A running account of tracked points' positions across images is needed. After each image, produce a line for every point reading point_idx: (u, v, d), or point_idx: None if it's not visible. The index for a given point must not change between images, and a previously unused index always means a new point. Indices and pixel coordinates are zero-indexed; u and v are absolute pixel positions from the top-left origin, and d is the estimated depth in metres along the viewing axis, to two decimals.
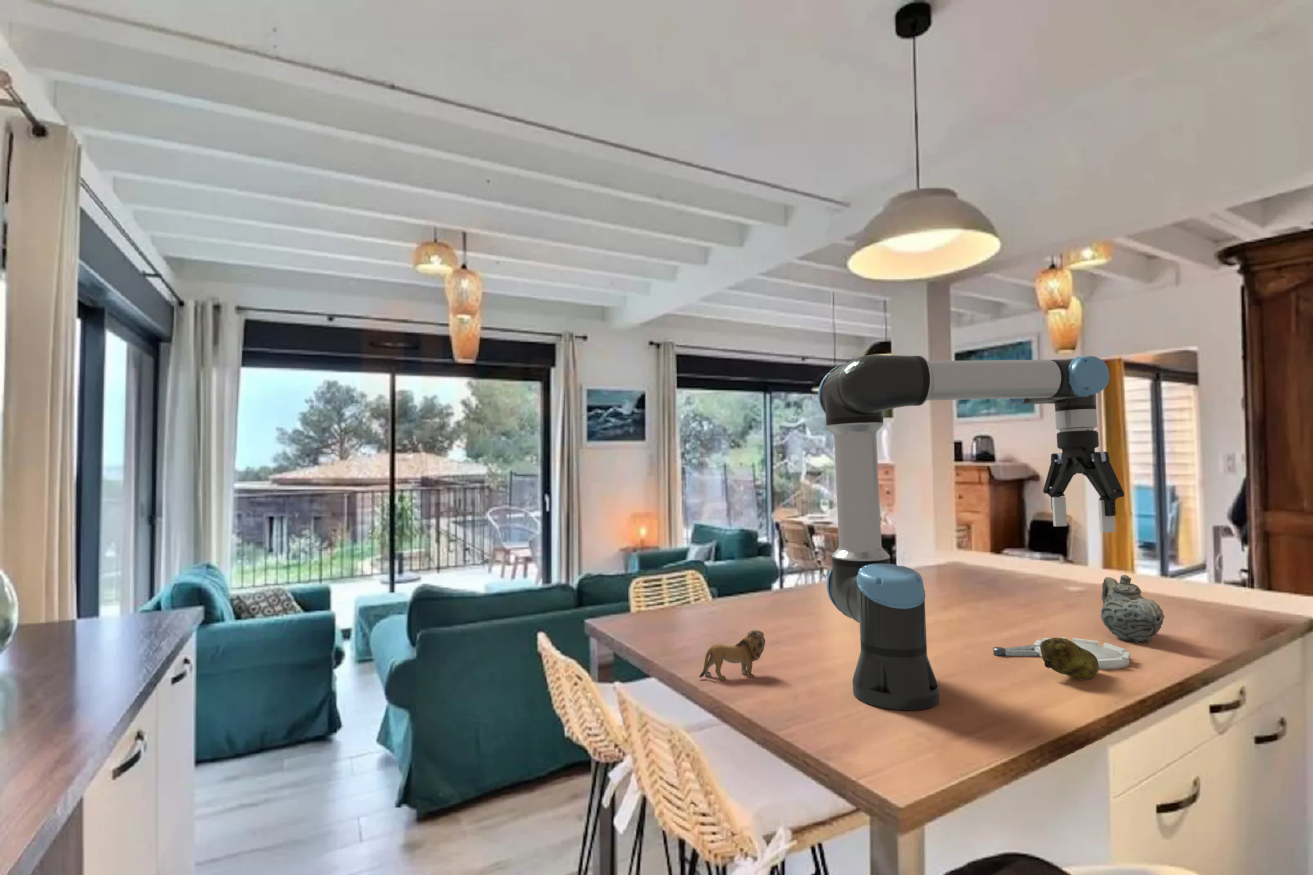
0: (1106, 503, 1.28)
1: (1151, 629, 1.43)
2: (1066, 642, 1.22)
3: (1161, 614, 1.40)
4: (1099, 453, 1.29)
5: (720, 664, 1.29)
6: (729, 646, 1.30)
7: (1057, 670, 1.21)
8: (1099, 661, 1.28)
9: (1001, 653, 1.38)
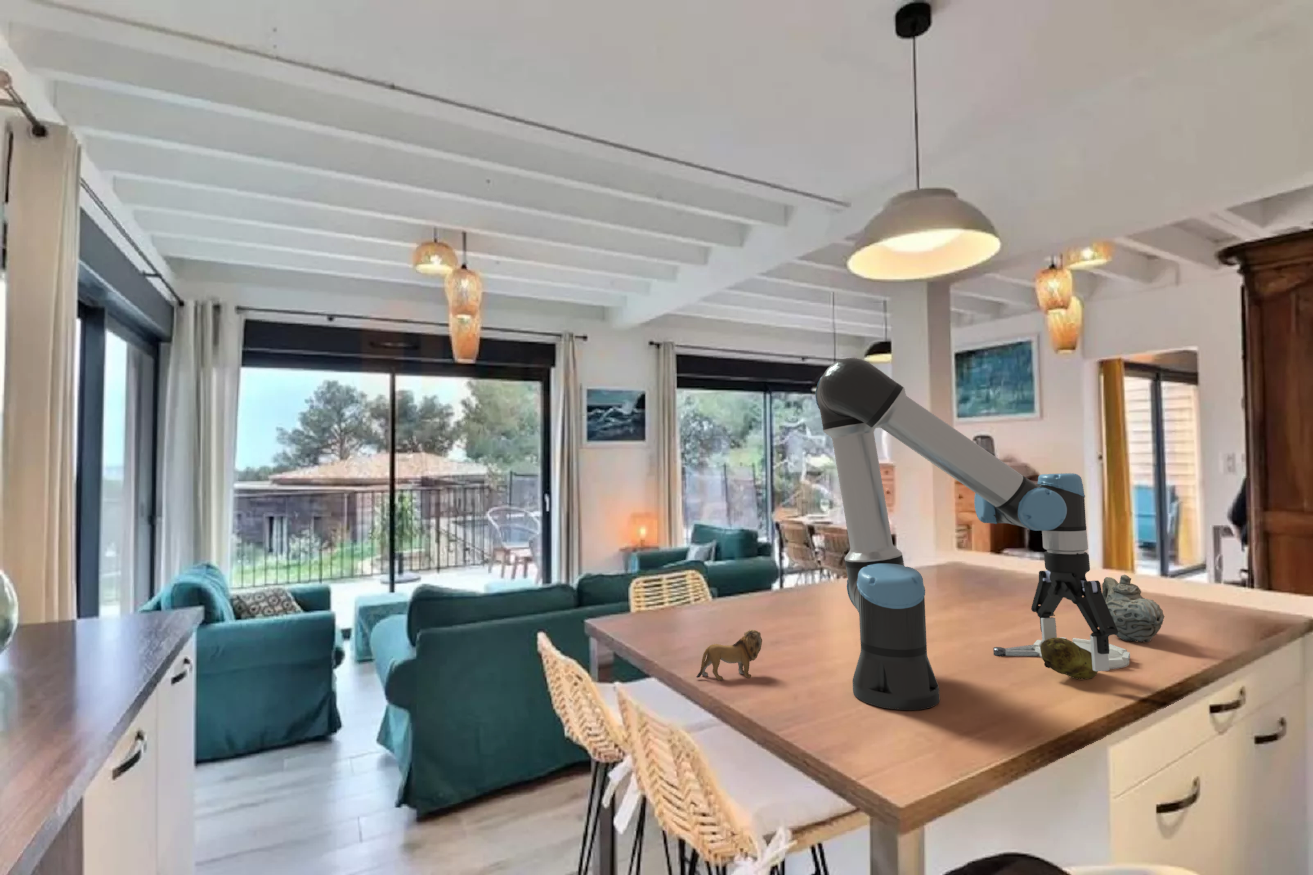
0: (1098, 640, 1.17)
1: (1151, 629, 1.43)
2: (1066, 642, 1.22)
3: (1161, 614, 1.40)
4: (1090, 583, 1.18)
5: (717, 664, 1.29)
6: (726, 646, 1.30)
7: (1057, 670, 1.22)
8: None
9: (1001, 653, 1.38)
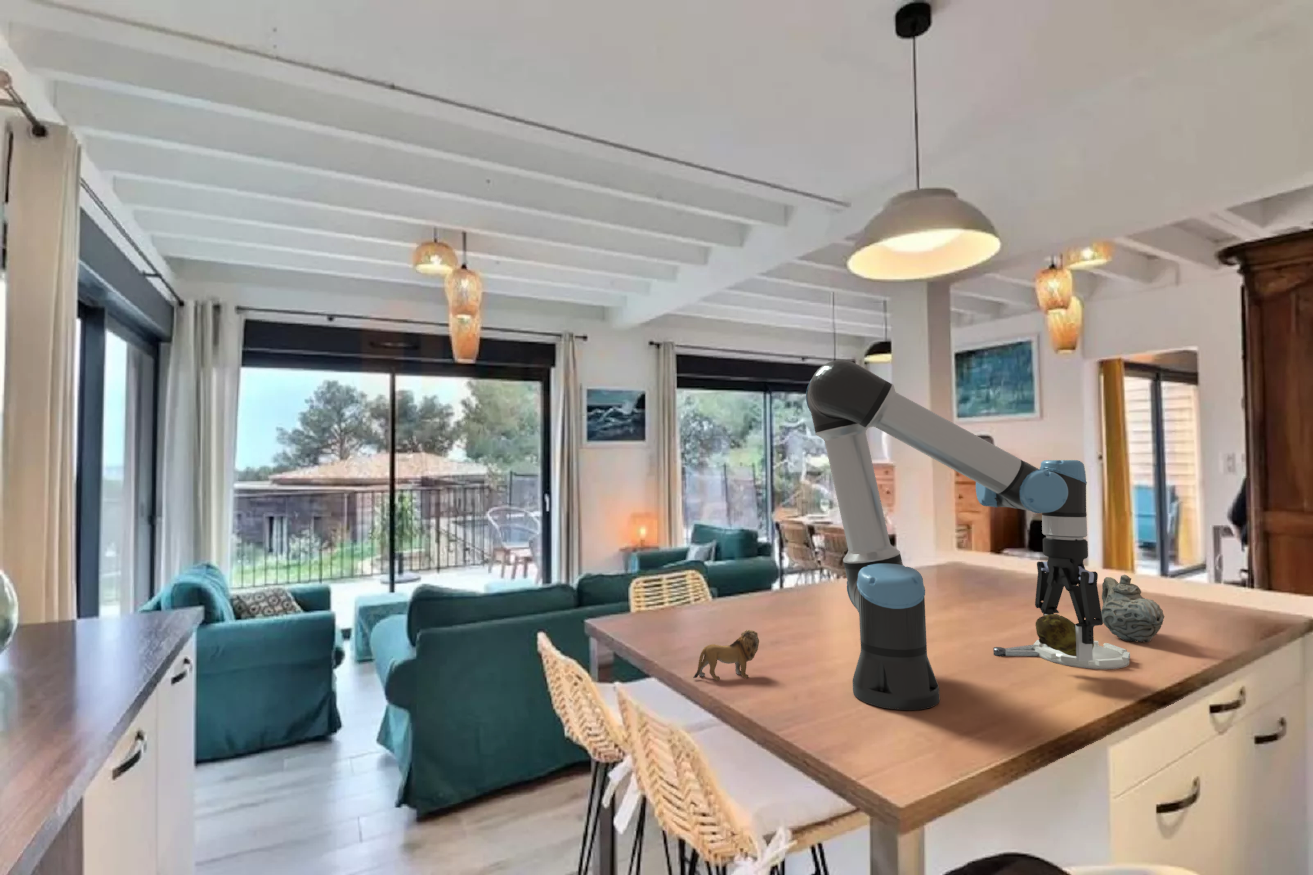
0: (1083, 630, 1.19)
1: (1151, 629, 1.43)
2: (1061, 618, 1.22)
3: (1161, 614, 1.40)
4: (1088, 574, 1.18)
5: (714, 664, 1.29)
6: (723, 646, 1.30)
7: (1051, 646, 1.22)
8: (1099, 661, 1.28)
9: (1001, 653, 1.38)
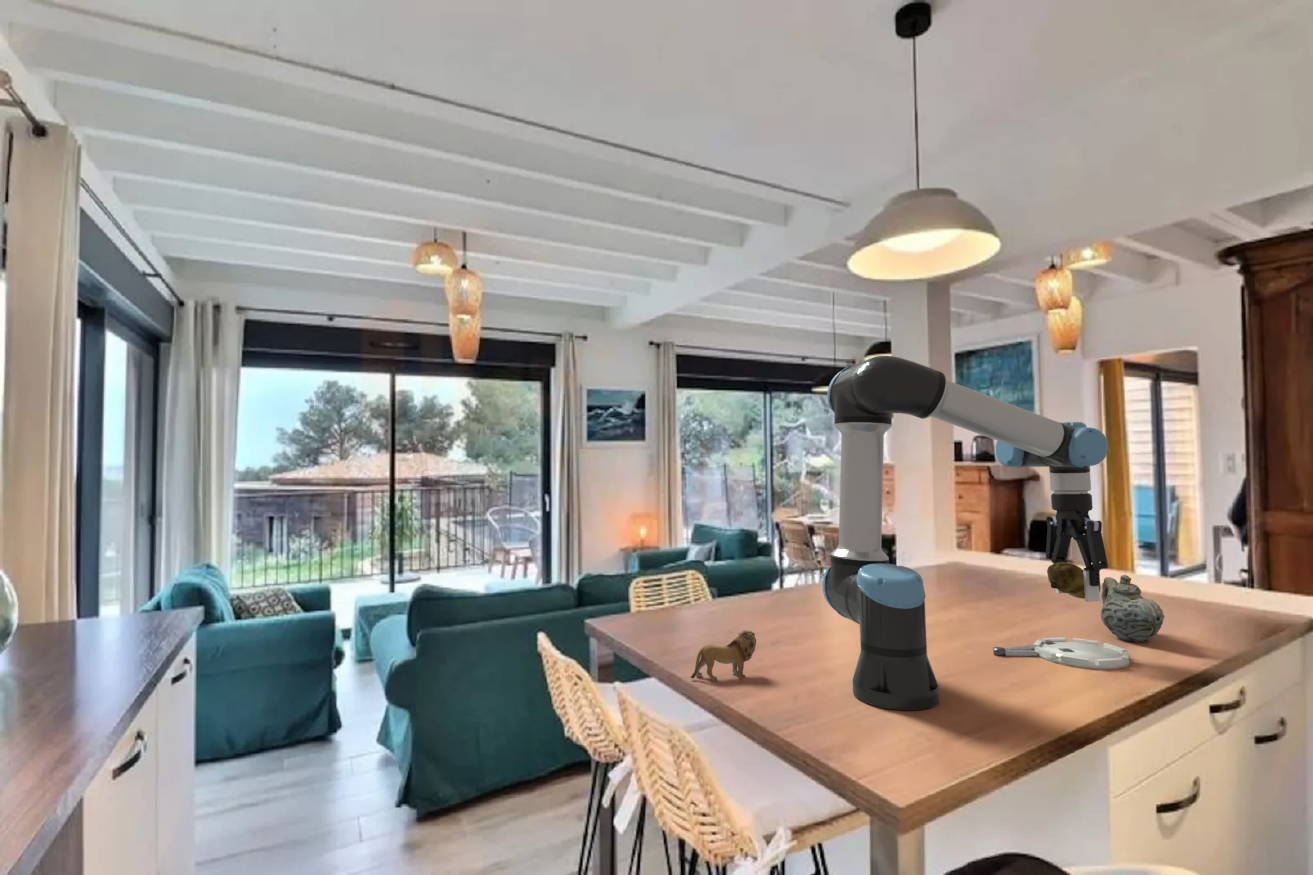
0: (1090, 574, 1.32)
1: (1151, 629, 1.43)
2: (1070, 564, 1.35)
3: (1161, 614, 1.40)
4: (1093, 523, 1.31)
5: (712, 665, 1.29)
6: (720, 647, 1.30)
7: (1062, 589, 1.35)
8: (1099, 661, 1.28)
9: (1001, 653, 1.38)
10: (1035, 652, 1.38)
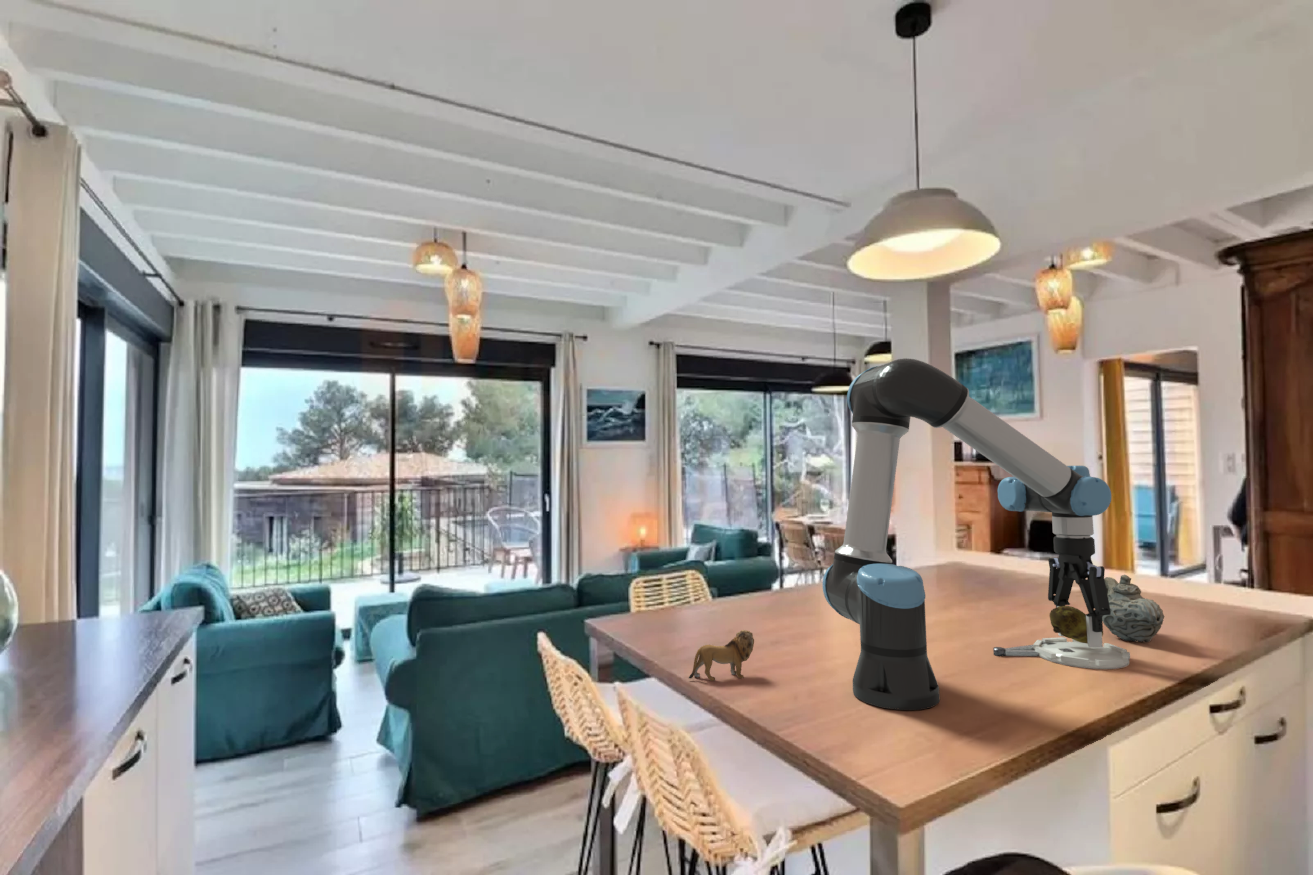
0: (1093, 619, 1.32)
1: (1151, 629, 1.43)
2: (1073, 609, 1.35)
3: (1161, 614, 1.40)
4: (1095, 569, 1.31)
5: (709, 665, 1.28)
6: (718, 647, 1.30)
7: (1065, 634, 1.34)
8: (1099, 661, 1.28)
9: (1001, 653, 1.38)
10: (1035, 652, 1.38)
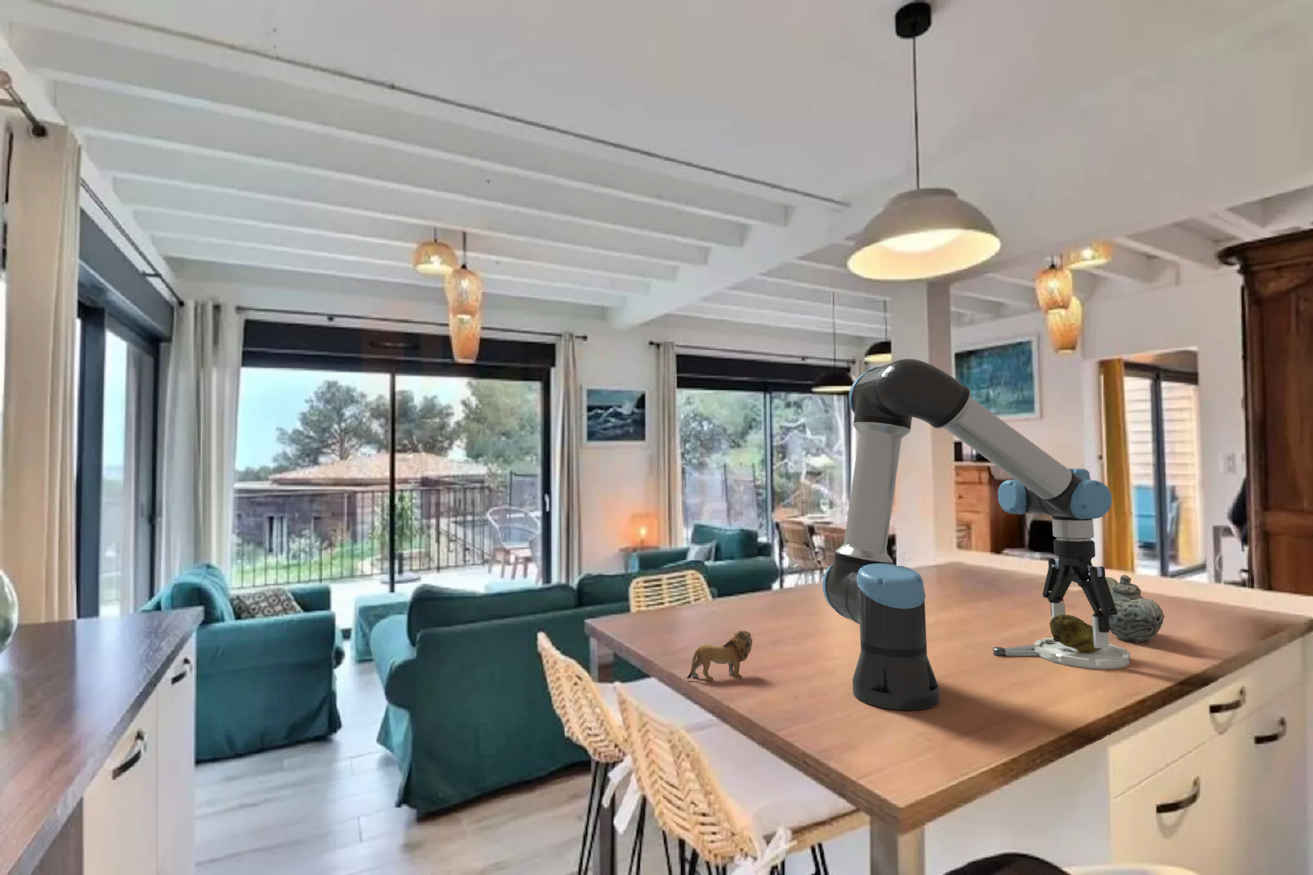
0: (1099, 620, 1.30)
1: (1151, 629, 1.43)
2: (1073, 618, 1.35)
3: (1161, 614, 1.40)
4: (1096, 568, 1.31)
5: (708, 665, 1.28)
6: (717, 647, 1.30)
7: (1065, 643, 1.34)
8: (1099, 661, 1.28)
9: (1001, 653, 1.38)
10: (1035, 652, 1.38)
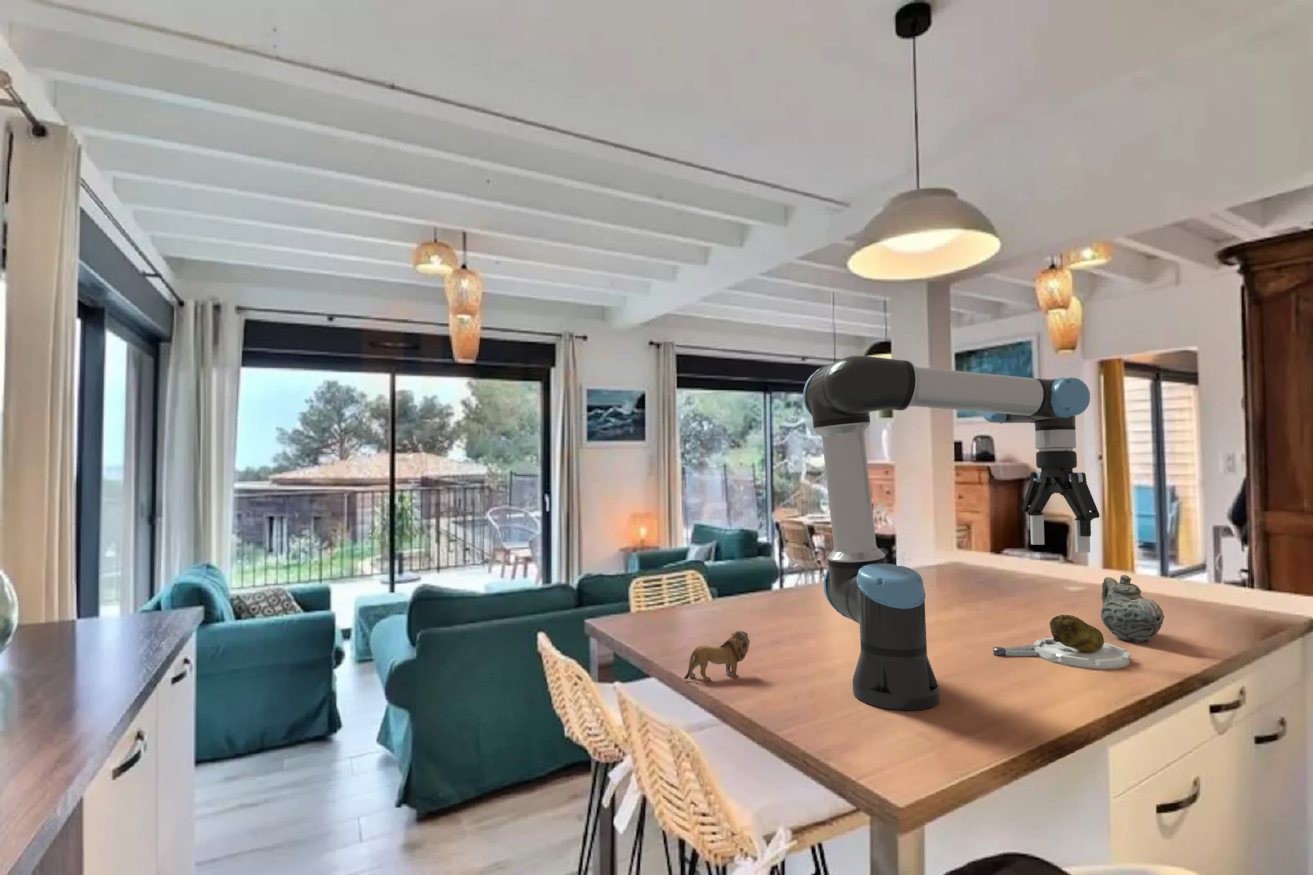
0: (1081, 524, 1.29)
1: (1151, 629, 1.43)
2: (1073, 618, 1.35)
3: (1161, 614, 1.40)
4: (1076, 474, 1.30)
5: (705, 665, 1.28)
6: (714, 647, 1.30)
7: (1065, 643, 1.34)
8: (1099, 661, 1.28)
9: (1001, 653, 1.38)
10: (1035, 652, 1.38)
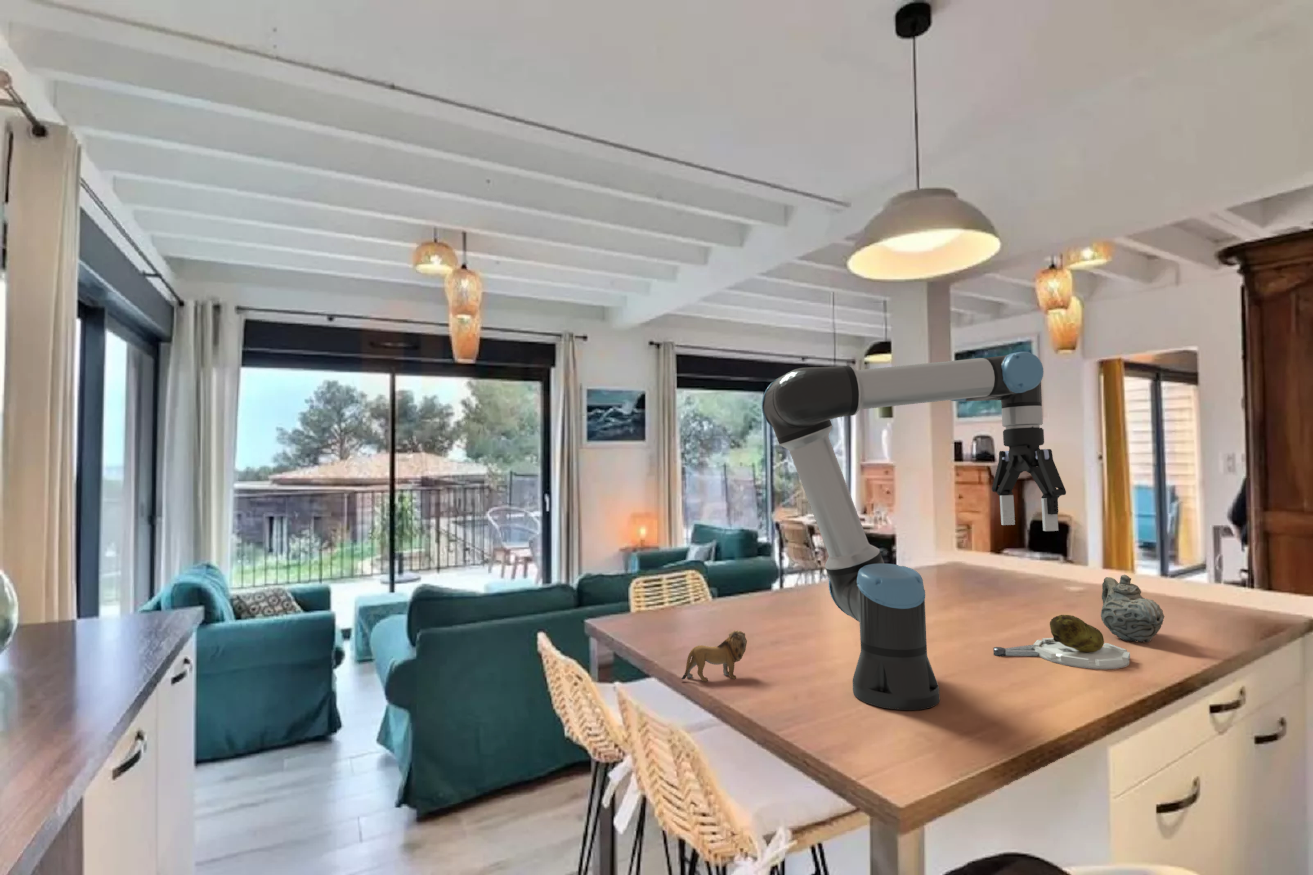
0: (1048, 501, 1.26)
1: (1151, 629, 1.43)
2: (1073, 618, 1.35)
3: (1161, 614, 1.40)
4: (1042, 450, 1.27)
5: (702, 666, 1.28)
6: (711, 647, 1.30)
7: (1065, 643, 1.34)
8: (1099, 661, 1.28)
9: (1001, 653, 1.38)
10: (1035, 652, 1.38)
